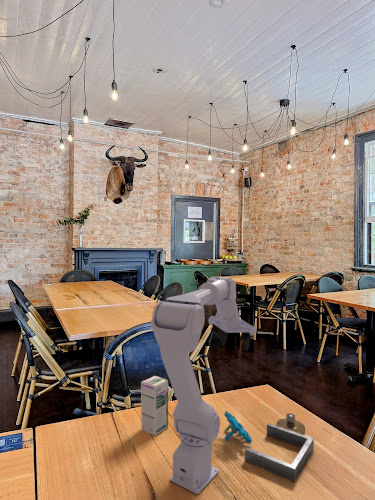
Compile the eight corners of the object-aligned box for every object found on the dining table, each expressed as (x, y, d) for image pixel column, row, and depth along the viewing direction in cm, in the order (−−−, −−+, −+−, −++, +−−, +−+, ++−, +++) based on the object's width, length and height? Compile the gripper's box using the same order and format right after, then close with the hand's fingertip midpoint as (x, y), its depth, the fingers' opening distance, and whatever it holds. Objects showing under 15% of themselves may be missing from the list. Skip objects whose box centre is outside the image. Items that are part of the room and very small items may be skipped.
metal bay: (294, 481, 79) (294, 469, 79) (244, 461, 87) (244, 449, 86) (313, 449, 92) (313, 438, 92) (268, 433, 99) (268, 423, 99)
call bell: (299, 443, 94) (300, 425, 94) (272, 434, 99) (272, 416, 99) (308, 430, 101) (308, 414, 100) (282, 422, 105) (282, 406, 105)
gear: (257, 445, 90) (230, 417, 91) (241, 462, 90) (214, 433, 91) (248, 428, 101) (224, 403, 102) (234, 443, 101) (210, 418, 102)
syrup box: (155, 436, 97) (155, 386, 96) (140, 429, 100) (140, 380, 100) (168, 428, 101) (168, 379, 101) (153, 421, 105) (154, 374, 105)
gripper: (256, 308, 97) (263, 341, 104) (212, 298, 105) (221, 329, 112) (246, 325, 92) (253, 358, 99) (201, 313, 101) (210, 345, 107)
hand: (235, 344), depth 105 cm, fingers open, 7 cm apart
